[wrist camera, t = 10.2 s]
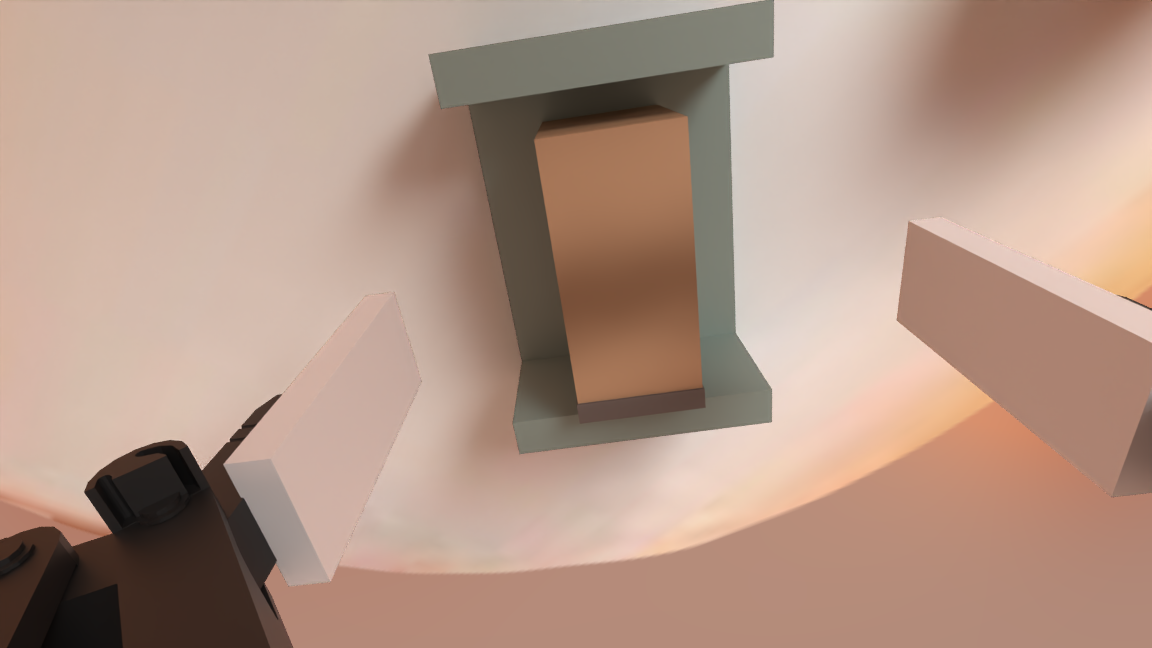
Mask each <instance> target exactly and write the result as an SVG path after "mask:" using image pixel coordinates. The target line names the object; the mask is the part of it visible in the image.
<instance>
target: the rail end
mask: <svg viewBox="0 0 1152 648" xmlns="http://www.w3.org/2000/svg"><path fill="white" fill-rule="evenodd" d="M534 142H535V148H536V154H537V160H538V166H539V172H540V178H541V184H542V190H543V196H544V202H545V208H546V214H547V220H548V227H549V233H550V239H551V245H552V251H553V257H554V263H555V269H556V275H557V281H558V287H559V293H560V299H561V305H562V311H563V317H564V323H565V329H566V335H567V341H568V347H569V353H570V359H571V365H572V371H573V377H574V383H575V389H576V400H577V411H578V416H579V422H580V424H583V423H591V422H599V421H606V420H614V419H622V418H630V417H638V416H645V415H653V414H661V413H669V412H677V411H685V410H692V409H700V408H706V405H705V389H704V386H703V384H702V367H701V349H700V331H699V313H698V294H697V276H696V258H695V240H694V222H693V204H692V185H691V167H690V149H689V131H688V116H685V115H683V114H680V113H677V112H675V111H672V110H670V109H667V108H665V107H662V106H660V105H651V106H644V107H637V108H631V109H624V110H618V111H611V112H605V113H598V114H592V115H585V116H579V117H572V118H566V119H559V120H552V121H546V122H542V124H541V126H540V128H539V130H538V132H537V135H536V137H535V139H534Z"/></svg>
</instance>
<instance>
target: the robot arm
mask: <svg viewBox="0 0 1152 648" xmlns="http://www.w3.org/2000/svg"><path fill="white" fill-rule="evenodd" d="M897 321H898V322H899V323H900V324H902V325H903V326H904V327H905V328H907V329H908V330H909V331H910V332H911V333H913V334H914V335H915V336H916V337H917V338H919V339H920V340H921V341H922V342H924V343H925V344H926V345H927V346H928V347H930V348H931V349H932V350H933V351H934V352H936V353H937V354H938V355H939V356H941V357H942V358H943V359H944V360H945V361H947V362H948V363H949V364H950V365H951V366H953V367H954V368H955V369H956V370H958V371H959V372H960V373H961V374H962V375H964V376H965V377H966V378H967V379H968V380H970V381H971V382H972V383H973V384H975V385H976V386H977V387H978V388H979V389H981V390H982V391H983V392H984V393H985V394H987V395H988V396H989V397H990V398H992V399H993V400H994V401H995V402H997V403H998V404H999V405H1000V406H1001V407H1002V408H1004V409H1005V410H1006V411H1007V412H1009V413H1010V414H1011V415H1012V416H1013V417H1015V418H1016V419H1017V420H1019V421H1020V422H1021V423H1022V424H1023V425H1025V426H1026V427H1027V428H1028V429H1029V430H1030V431H1032V432H1033V433H1034V434H1035V435H1036V436H1038V437H1039V438H1040V439H1041V440H1043V441H1044V442H1045V443H1046V444H1047V445H1049V446H1050V447H1051V448H1052V449H1054V450H1055V451H1056V452H1057V453H1058V454H1060V455H1061V456H1062V457H1063V458H1064V459H1066V460H1067V461H1068V462H1069V463H1071V464H1072V465H1073V466H1074V467H1075V468H1077V469H1078V470H1079V471H1080V472H1082V473H1083V474H1084V475H1085V476H1086V477H1088V478H1089V479H1090V480H1091V481H1092V482H1094V483H1095V484H1096V485H1097V486H1098V487H1100V488H1101V489H1102V490H1103V491H1104V492H1106V493H1107V494H1108V495H1109V496H1111V497H1118V496H1128V495H1136V494H1146V493H1152V308H1149V307H1147V306H1145V305H1142V304H1140V303H1138V302H1136V301H1133V300H1131V299H1129V298H1127V297H1123V296H1119V295H1115V294H1113V293H1111V292H1108V291H1106V290H1104V289H1102V288H1099V287H1097V286H1095V285H1093V284H1090V283H1088V282H1086V281H1084V280H1081V279H1079V278H1077V277H1075V276H1072V275H1070V274H1068V273H1066V272H1064V271H1061V270H1059V269H1057V268H1055V267H1052V266H1050V265H1048V264H1046V263H1043V262H1041V261H1039V260H1037V259H1034V258H1032V257H1030V256H1028V255H1025V254H1023V253H1021V252H1019V251H1016V250H1014V249H1012V248H1010V247H1007V246H1005V245H1003V244H1001V243H998V242H996V241H994V240H992V239H989V238H987V237H985V236H983V235H980V234H978V233H976V232H974V231H971V230H969V229H967V228H965V227H962V226H960V225H958V224H956V223H953V222H951V221H949V220H947V219H944V218H942V217H935V218H928V219H920V220H913V221H909V223H908V232H907V240H906V248H905V256H904V264H903V272H902V281H901V289H900V297H899V305H898V313H897ZM421 382H422V380H421V377H420V374H419V370H418V367H417V364H416V361H415V357H414V354H413V351H412V348H411V344H410V341H409V338H408V335H407V332H406V328H405V325H404V322H403V319H402V315H401V312H400V309H399V306H398V303H397V299H396V296H395V293H394V292H389V293H382V294H374V295H367V296H365V297H364V298H363V299H362V301H361V302H360V303H359V304H358V305H357V307H356V308H355V309H354V310H353V311H352V313H351V314H350V315H349V316H348V317H347V318H346V320H345V321H344V322H343V323H342V324H341V326H340V327H339V328H338V329H337V330H336V331H335V333H334V334H333V335H332V336H331V337H330V339H329V340H328V341H327V342H326V343H325V344H324V346H323V347H322V348H321V349H320V350H319V352H318V353H317V354H316V355H315V356H314V357H313V359H312V360H311V361H310V362H309V363H308V365H307V366H306V367H305V368H304V369H303V371H302V372H301V373H300V374H299V375H298V376H297V378H296V379H295V380H294V381H293V382H292V384H291V385H290V386H289V387H288V388H287V389H286V391H285V392H284V393H283V394H280V395H276V396H275V397H273V398H272V399H271V400H269V401H268V402H266V403H265V404H263V405H262V406H261V407H259V408H258V409H256V410H255V411H254V412H253V414H252V415H251V416H250V417H249V418H248V419H247V420H246V421H245V423H244V424H243V425H242V429H238V431H237V432H236V433H235V434H234V435H233V436H232V437H231V438H230V442H228V443H226V444H225V445H224V446H223V448H222V449H221V450H220V451H219V452H218V453H217V454H216V455H215V457H214V458H213V459H212V460H211V461H210V462H209V463H208V465H207V466H206V467H205V468H204V469H203V470H202V471H201V469H200V467H199V465H198V464H197V462H196V460H195V458H194V456H193V455H192V453H191V451H190V449H189V448H188V446H187V445H186V444H185V443H183V442H182V441H174V440H168V441H163V442H158V443H153V444H150V445H147V446H144V447H142V448H139V449H136V450H134V451H132V452H130V453H128V454H126V455H124V456H122V457H120V458H118V459H116V460H114V461H113V462H112V463H110V464H109V465H107V466H106V467H104V468H103V469H101V470H100V471H99V472H98V473H97V474H96V475H95V476H94V477H93V478H92V479H91V480H90V481H89V482H88V484H87V486H86V489H85V491H84V493H85V494H86V496H87V497H88V498H89V500H90V501H91V503H92V504H93V506H94V507H95V509H96V510H97V511H98V513H99V514H100V516H101V517H102V519H103V520H104V521H105V523H106V524H107V526H108V527H109V529H110V530H111V532H112V533H113V534H110V535H107V536H104V537H101V538H97V539H94V540H91V541H88V542H85V543H82V544H79V545H76V546H73V547H72V546H71V545H70V543H69V542H68V541H67V539H66V538H65V537H64V535H63V534H62V533H61V532H60V531H59V530H58V529H56V528H55V527H38V528H34V529H31V530H27V531H23V532H21V533H18V534H16V535H14V536H12V537H9V538H4V539H2V540H0V648H293V646H292V644H291V641H290V639H289V636H288V634H287V632H286V629H285V627H284V624H283V622H282V619H281V617H280V615H279V612H278V610H277V607H276V605H275V603H274V600H273V598H272V596H271V594H270V592H269V590H268V589H267V587H266V585H265V583H264V582H265V581H266V579H267V577H268V575H269V574H270V572H271V570H272V568H273V567H274V565H275V563H276V564H277V566H278V568H279V570H280V572H281V573H282V575H283V577H284V579H285V581H286V582H287V585H288V586H298V585H307V584H316V583H326V582H331V580H332V577H333V575H334V573H335V571H336V568H337V567H338V564H339V562H340V560H341V558H342V556H343V553H344V551H345V549H346V547H347V545H348V542H349V540H350V538H351V536H352V534H353V531H354V529H355V527H356V525H357V523H358V520H359V518H360V516H361V514H362V512H363V509H364V507H365V505H366V503H367V501H368V498H369V496H370V494H371V492H372V490H373V487H374V485H375V483H376V481H377V479H378V476H379V474H380V472H381V470H382V468H383V465H384V463H385V461H386V459H387V457H388V454H389V452H390V450H391V448H392V446H393V443H394V441H395V439H396V437H397V435H398V432H399V430H400V428H401V426H402V424H403V421H404V419H405V417H406V415H407V413H408V410H409V408H410V406H411V404H412V402H413V399H414V397H415V395H416V393H417V391H418V388H419V386H420V384H421Z"/></svg>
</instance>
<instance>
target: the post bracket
mask: <svg viewBox="0 0 1152 648" xmlns="http://www.w3.org/2000/svg"><path fill="white" fill-rule="evenodd" d="M428 55H429V59H430V64H431V68H432V72H433V77H434V81H435V85H436V90H437V94H438V99H439V103H440V107H441V109H444V108H451V107H457V106H464V105H469V110H470V114H471V119H472V124H473V129H474V134H475V138H476V143H477V148H478V153H479V158H480V162H481V167H482V172H483V177H484V181H485V186H486V191H487V196H488V201H489V205H490V210H491V215H492V220H493V225H494V229H495V234H496V239H497V244H498V249H499V253H500V258H501V263H502V268H503V273H504V277H505V282H506V287H507V292H508V297H509V301H510V306H511V311H512V316H513V321H514V325H515V330H516V335H517V340H518V344H519V349H520V354H521V359H522V365H521V372H520V378H519V385H518V391H517V398H516V404H515V411H514V418H513V427H514V431H515V435H516V440H517V444H518V448H519V453H520V454H524V453H532V452H540V451H548V450H555V449H563V448H571V447H579V446H587V445H595V444H603V443H611V442H619V441H627V440H635V439H642V438H650V437H658V436H666V435H674V434H682V433H690V432H698V431H706V430H714V429H722V428H729V427H737V426H745V425H753V424H761V423H769V422H772V389H771V387H770V386H769V384H768V383H767V381H766V380H765V378H764V376H763V375H762V373H761V372H760V370H759V369H758V367H757V365H756V364H755V362H754V361H753V359H752V358H751V356H750V355H749V353H748V351H747V350H746V348H745V347H744V345H743V344H742V342H741V341H740V339H739V337H738V336H737V334H736V330H735V291H734V252H733V213H732V174H731V134H730V95H729V64H733V63H740V62H746V61H752V60H759V59H765V58H772V57H774V0H765V1H758V2H752V3H746V4H740V5H734V6H727V7H721V8H715V9H709V10H702V11H696V12H690V13H684V14H677V15H671V16H665V17H659V18H653V19H646V20H640V21H634V22H628V23H621V24H615V25H609V26H603V27H596V28H590V29H584V30H578V31H572V32H565V33H559V34H553V35H547V36H540V37H534V38H528V39H522V40H515V41H509V42H503V43H497V44H491V45H484V46H478V47H472V48H466V49H459V50H453V51H447V52H441V53H434V54H428ZM651 105H660V106H662V107H665V108H667V109H670V110H672V111H675V112H677V113H680V114H683V115H685V116H688V131H689V149H690V167H691V185H692V204H693V222H694V240H695V258H696V276H697V294H698V313H699V331H700V349H701V367H702V384H703V386H704V389H705V405H706V408H700V409H692V410H685V411H677V412H669V413H661V414H653V415H645V416H638V417H630V418H622V419H614V420H606V421H599V422H591V423H583V424H580V422H579V416H578V411H577V400H576V389H575V383H574V377H573V371H572V365H571V359H570V353H569V347H568V341H567V335H566V329H565V323H564V317H563V311H562V305H561V299H560V293H559V287H558V281H557V275H556V269H555V263H554V257H553V251H552V245H551V239H550V233H549V227H548V220H547V214H546V208H545V202H544V196H543V190H542V184H541V178H540V172H539V166H538V160H537V154H536V148H535V142H534V139H535V137H536V135H537V132H538V130H539V128H540V126H541V124H542V122H546V121H552V120H559V119H566V118H572V117H579V116H585V115H592V114H598V113H605V112H611V111H618V110H624V109H631V108H637V107H644V106H651Z"/></svg>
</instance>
